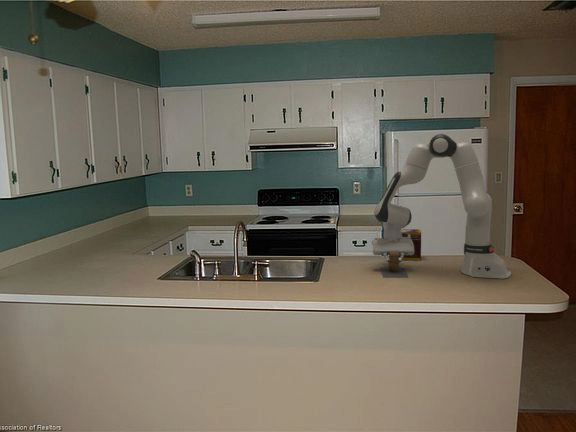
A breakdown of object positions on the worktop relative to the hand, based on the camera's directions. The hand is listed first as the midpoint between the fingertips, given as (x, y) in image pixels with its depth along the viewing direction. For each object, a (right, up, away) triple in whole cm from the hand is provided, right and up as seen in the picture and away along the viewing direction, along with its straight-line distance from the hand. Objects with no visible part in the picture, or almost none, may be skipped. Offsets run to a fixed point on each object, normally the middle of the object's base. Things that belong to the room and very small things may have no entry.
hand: (394, 261), depth 253 cm
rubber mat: (0, -6, +1) cm, 6 cm away
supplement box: (+13, -1, +32) cm, 35 cm away
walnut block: (+1, -4, +4) cm, 6 cm away
